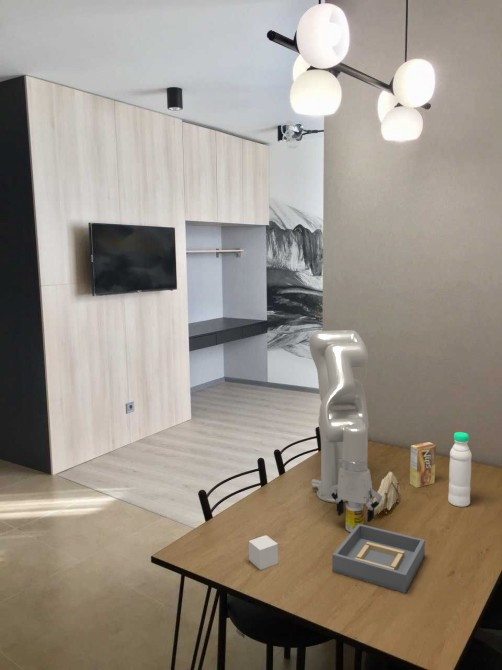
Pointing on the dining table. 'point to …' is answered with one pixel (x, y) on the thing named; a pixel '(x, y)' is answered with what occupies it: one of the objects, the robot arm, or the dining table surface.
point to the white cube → (263, 552)
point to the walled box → (379, 557)
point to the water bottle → (460, 471)
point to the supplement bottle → (353, 515)
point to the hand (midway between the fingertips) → (355, 517)
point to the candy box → (422, 464)
